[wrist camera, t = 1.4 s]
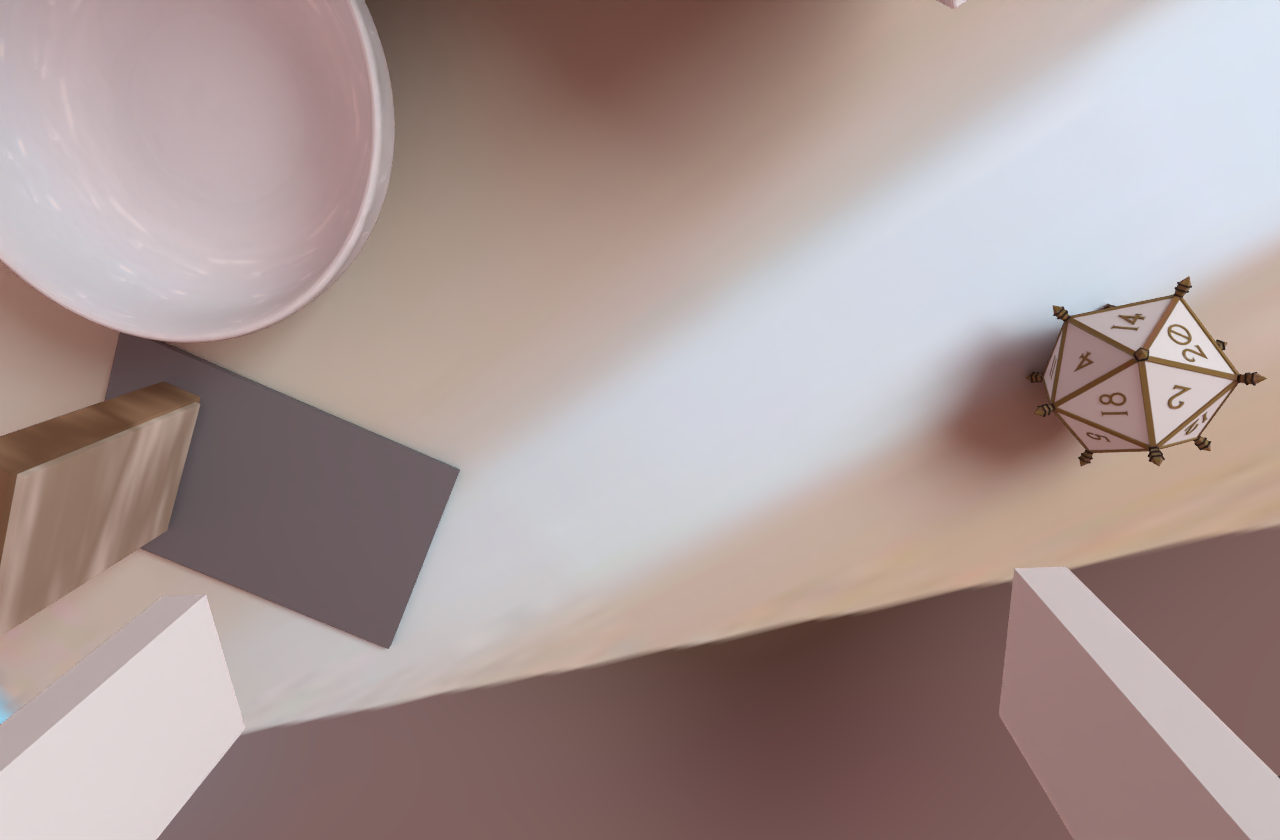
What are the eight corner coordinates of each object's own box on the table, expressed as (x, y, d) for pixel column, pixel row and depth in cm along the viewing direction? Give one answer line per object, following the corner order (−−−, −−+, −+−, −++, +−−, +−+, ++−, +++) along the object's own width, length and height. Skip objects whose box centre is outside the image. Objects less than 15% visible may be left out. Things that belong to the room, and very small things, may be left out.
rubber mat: (83, 519, 43) (77, 522, 43) (126, 326, 40) (120, 327, 39) (390, 645, 45) (388, 649, 44) (459, 469, 41) (457, 472, 41)
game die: (1017, 336, 41) (1008, 277, 32) (1201, 299, 37) (1245, 222, 28) (1047, 491, 39) (1046, 473, 30) (1245, 470, 35) (1308, 443, 26)
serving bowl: (-7, 206, 38) (-151, 207, 32) (89, -221, 32) (-63, -329, 26) (349, 387, 40) (284, 423, 33) (502, 14, 34) (459, -31, 27)
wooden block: (131, 514, 43) (-72, 627, 31) (163, 381, 40) (-45, 451, 29) (170, 530, 43) (-16, 649, 31) (205, 399, 40) (16, 476, 29)
